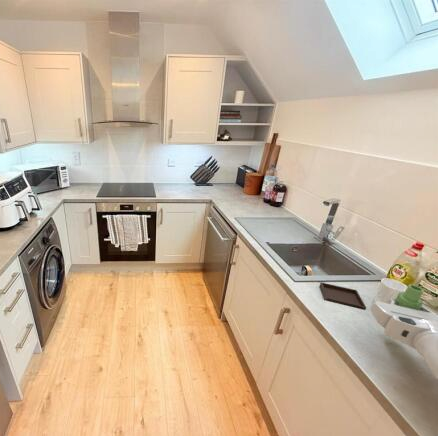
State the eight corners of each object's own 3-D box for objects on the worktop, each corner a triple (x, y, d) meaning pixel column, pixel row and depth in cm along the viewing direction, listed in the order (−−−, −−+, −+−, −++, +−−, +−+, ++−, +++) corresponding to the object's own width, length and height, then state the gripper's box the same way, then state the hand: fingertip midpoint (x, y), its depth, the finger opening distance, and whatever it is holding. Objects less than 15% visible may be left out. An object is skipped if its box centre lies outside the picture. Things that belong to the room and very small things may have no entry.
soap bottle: (399, 325, 79) (422, 284, 72) (407, 337, 75) (433, 295, 68) (379, 320, 81) (400, 280, 74) (386, 332, 77) (409, 290, 70)
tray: (354, 294, 102) (356, 290, 101) (364, 312, 93) (366, 307, 92) (319, 286, 107) (320, 282, 106) (325, 302, 97) (326, 298, 96)
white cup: (367, 297, 100) (376, 277, 96) (386, 297, 100) (396, 278, 96) (383, 311, 93) (393, 291, 89) (403, 311, 93) (415, 291, 89)
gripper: (495, 342, 58) (455, 304, 69) (387, 317, 65) (368, 286, 77) (480, 360, 60) (444, 320, 72) (379, 333, 68) (361, 301, 80)
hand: (404, 303), depth 75 cm, fingers closed on soap bottle, 5 cm apart
